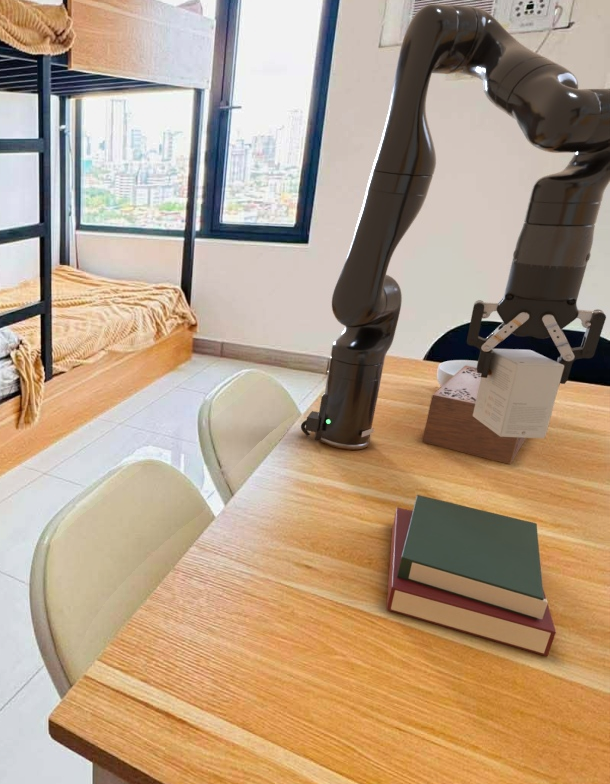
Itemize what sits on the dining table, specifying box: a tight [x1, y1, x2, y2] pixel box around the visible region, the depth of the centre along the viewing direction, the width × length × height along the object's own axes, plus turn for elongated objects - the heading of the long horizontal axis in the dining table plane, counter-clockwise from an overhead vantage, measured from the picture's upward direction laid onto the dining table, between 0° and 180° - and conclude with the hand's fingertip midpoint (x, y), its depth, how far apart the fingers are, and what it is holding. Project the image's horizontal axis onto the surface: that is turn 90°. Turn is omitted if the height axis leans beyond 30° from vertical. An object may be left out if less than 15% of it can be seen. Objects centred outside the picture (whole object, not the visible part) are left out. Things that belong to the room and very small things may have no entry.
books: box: [386, 494, 557, 657], centre depth 82 cm, size 16×22×6 cm
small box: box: [473, 348, 564, 439], centre depth 87 cm, size 8×6×10 cm
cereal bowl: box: [436, 359, 478, 388], centre depth 146 cm, size 17×17×7 cm
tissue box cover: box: [421, 366, 527, 465], centre depth 127 cm, size 26×14×10 cm, turn 135°
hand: (518, 380), depth 86 cm, fingers closed on small box, 7 cm apart
